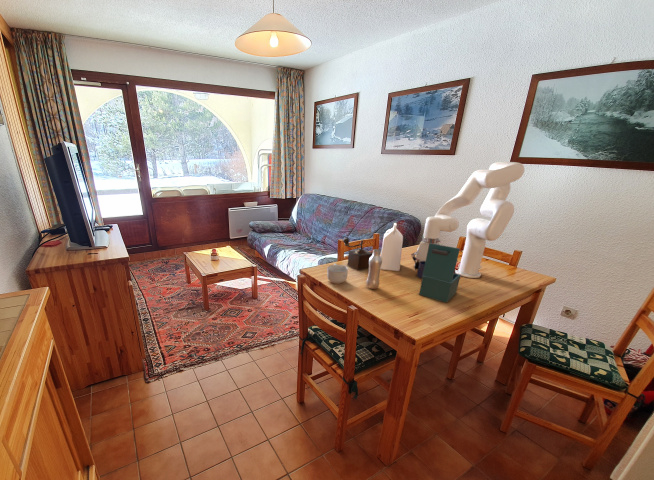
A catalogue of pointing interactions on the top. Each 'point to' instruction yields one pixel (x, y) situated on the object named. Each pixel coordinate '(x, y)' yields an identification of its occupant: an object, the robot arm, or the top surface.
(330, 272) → the teacup
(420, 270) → the cup
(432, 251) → the cool box lid
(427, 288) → the cool box
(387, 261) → the milk
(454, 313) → the top surface
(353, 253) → the manual coffee grinder
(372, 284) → the plastic bottle
